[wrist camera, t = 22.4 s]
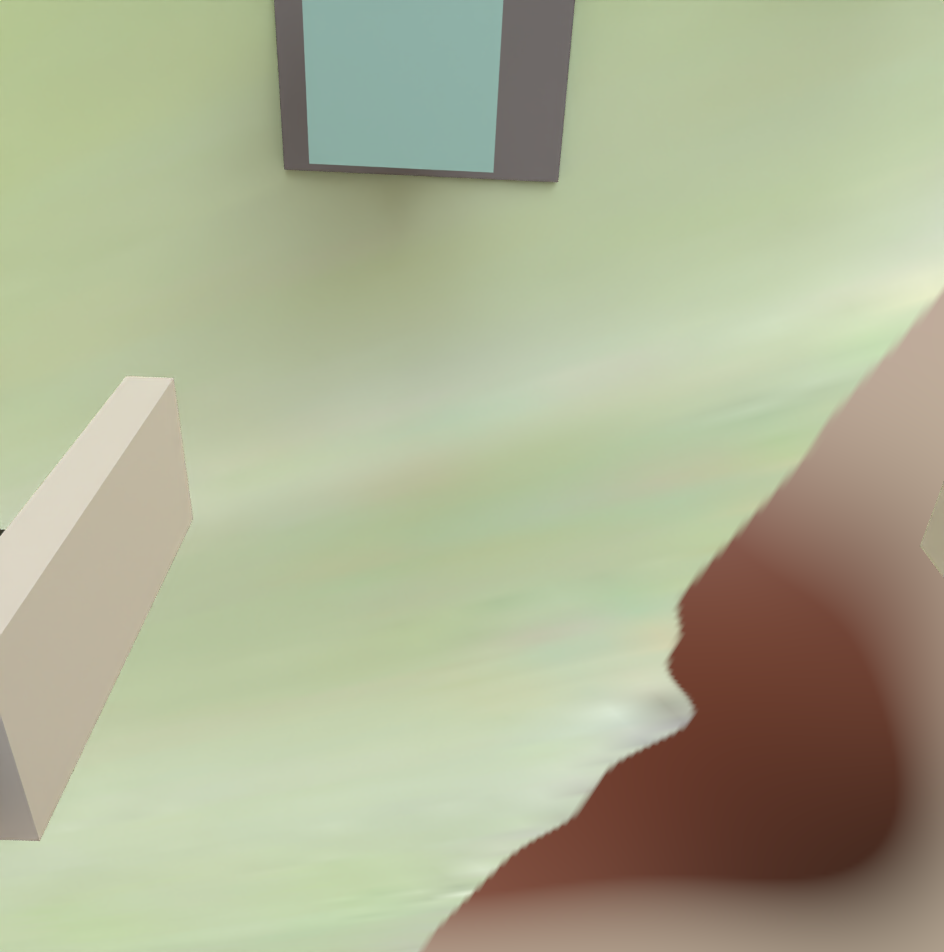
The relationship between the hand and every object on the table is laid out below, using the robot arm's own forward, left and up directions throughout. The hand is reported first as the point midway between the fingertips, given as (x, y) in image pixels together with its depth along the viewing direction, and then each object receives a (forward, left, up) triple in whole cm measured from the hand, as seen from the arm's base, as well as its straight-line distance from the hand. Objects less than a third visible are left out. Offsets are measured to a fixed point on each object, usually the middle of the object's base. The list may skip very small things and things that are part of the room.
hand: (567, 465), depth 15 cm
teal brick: (-4, -4, -24) cm, 25 cm away
